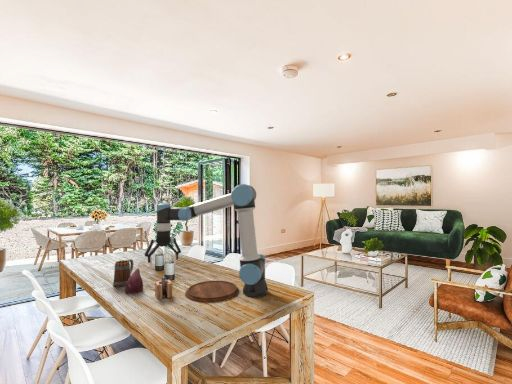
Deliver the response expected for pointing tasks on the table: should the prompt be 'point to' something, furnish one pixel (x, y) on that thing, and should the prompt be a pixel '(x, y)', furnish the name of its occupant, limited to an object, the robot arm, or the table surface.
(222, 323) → the table surface
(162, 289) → the stand
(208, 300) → the cutting board
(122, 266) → the mug
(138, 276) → the vegetable
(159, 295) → the c link
